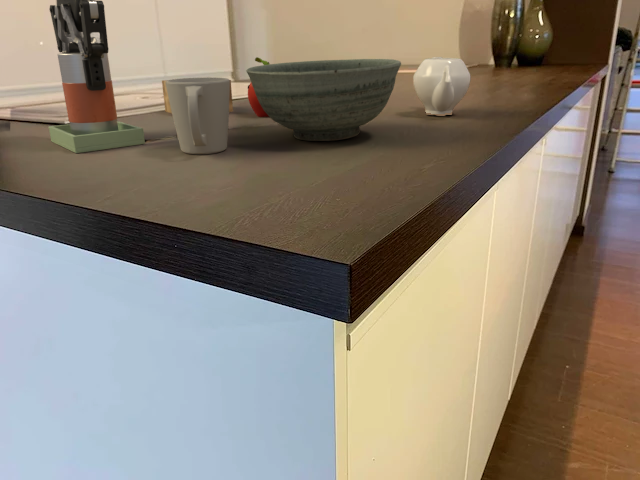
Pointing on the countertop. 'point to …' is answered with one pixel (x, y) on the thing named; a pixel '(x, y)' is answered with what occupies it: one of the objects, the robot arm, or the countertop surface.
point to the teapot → (441, 83)
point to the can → (87, 97)
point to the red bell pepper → (253, 98)
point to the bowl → (324, 95)
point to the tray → (97, 138)
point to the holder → (167, 103)
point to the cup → (200, 113)
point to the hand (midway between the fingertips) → (88, 88)
